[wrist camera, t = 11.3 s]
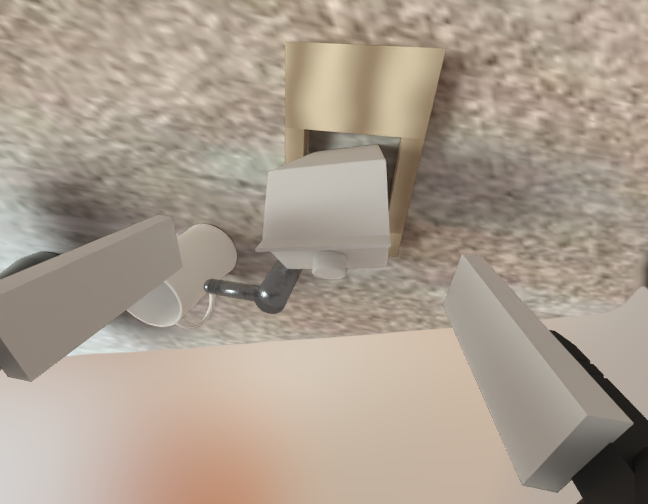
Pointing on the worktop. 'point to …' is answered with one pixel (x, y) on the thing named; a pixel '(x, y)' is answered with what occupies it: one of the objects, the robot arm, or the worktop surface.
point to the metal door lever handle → (260, 288)
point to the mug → (188, 278)
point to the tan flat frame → (363, 104)
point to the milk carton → (329, 212)
